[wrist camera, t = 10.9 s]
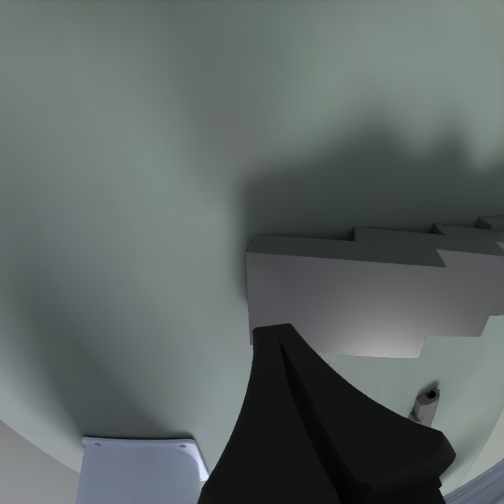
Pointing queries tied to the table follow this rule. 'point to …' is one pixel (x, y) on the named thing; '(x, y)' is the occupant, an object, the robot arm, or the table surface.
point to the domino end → (491, 223)
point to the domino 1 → (345, 293)
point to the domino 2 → (454, 277)
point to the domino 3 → (500, 306)
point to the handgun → (425, 408)
